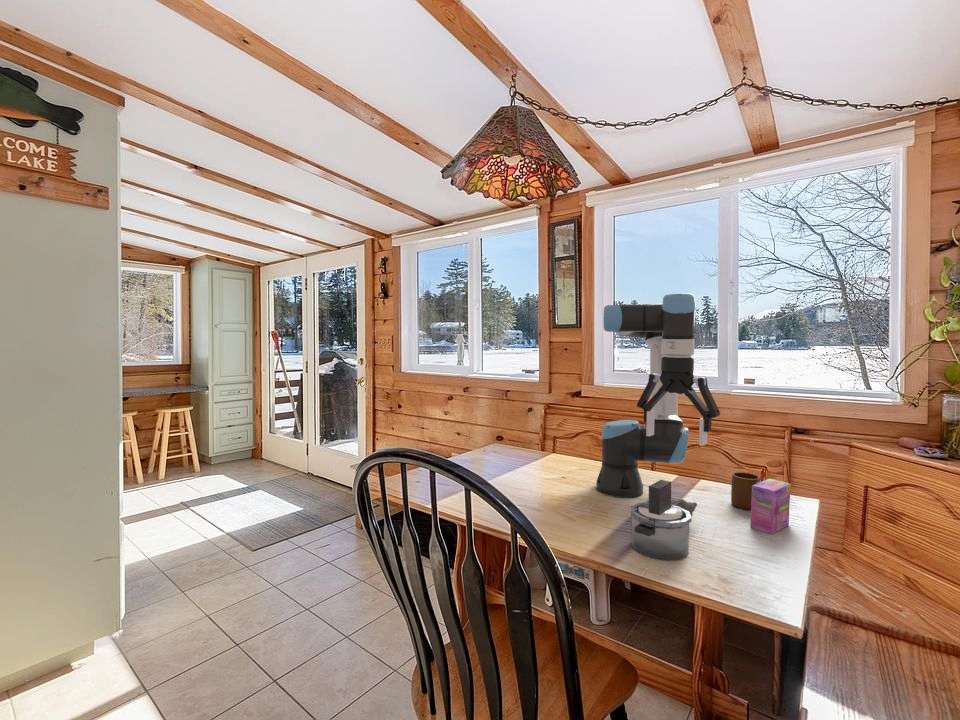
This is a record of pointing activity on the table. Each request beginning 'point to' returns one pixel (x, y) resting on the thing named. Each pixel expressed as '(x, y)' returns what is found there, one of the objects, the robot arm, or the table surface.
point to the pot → (660, 535)
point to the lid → (660, 503)
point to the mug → (743, 489)
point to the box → (770, 505)
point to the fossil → (685, 505)
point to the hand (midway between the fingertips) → (675, 440)
